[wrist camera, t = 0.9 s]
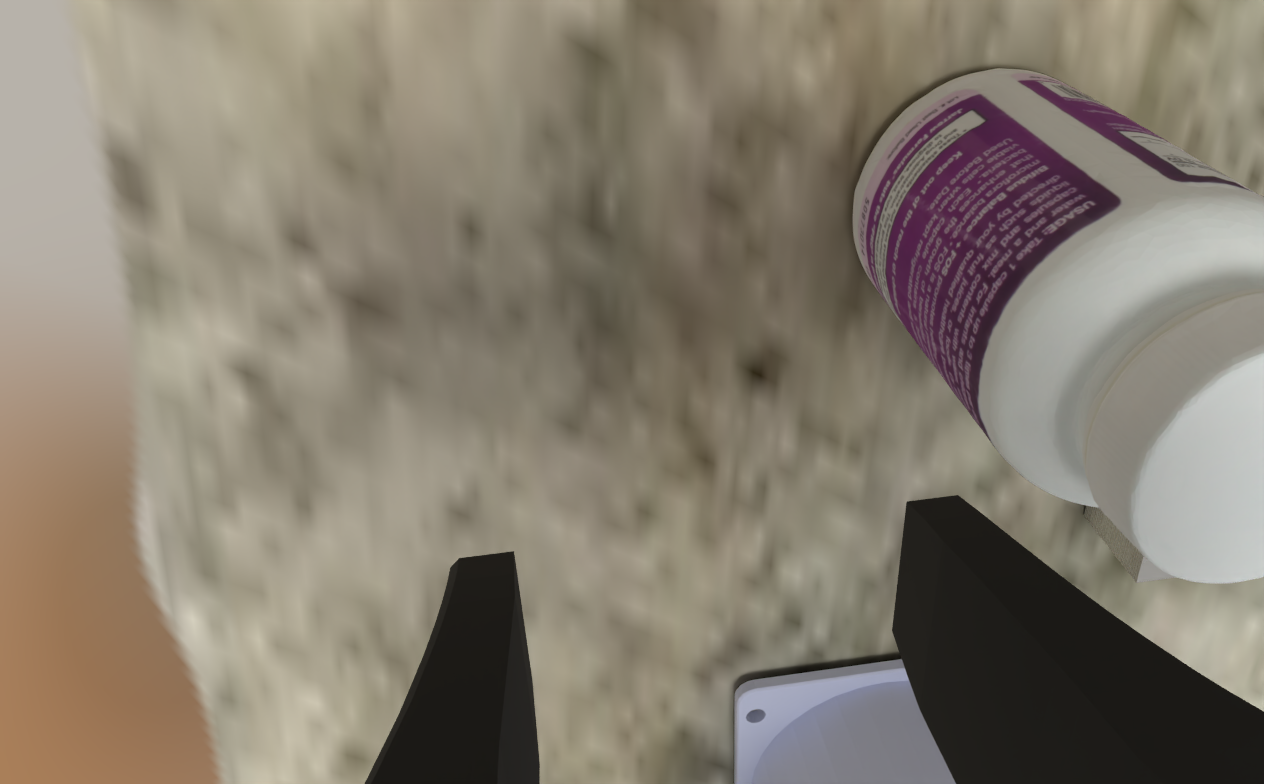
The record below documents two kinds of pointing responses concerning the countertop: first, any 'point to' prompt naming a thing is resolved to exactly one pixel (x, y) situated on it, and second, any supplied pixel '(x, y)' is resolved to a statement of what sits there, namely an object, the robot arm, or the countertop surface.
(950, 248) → the pill bottle
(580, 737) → the countertop surface
